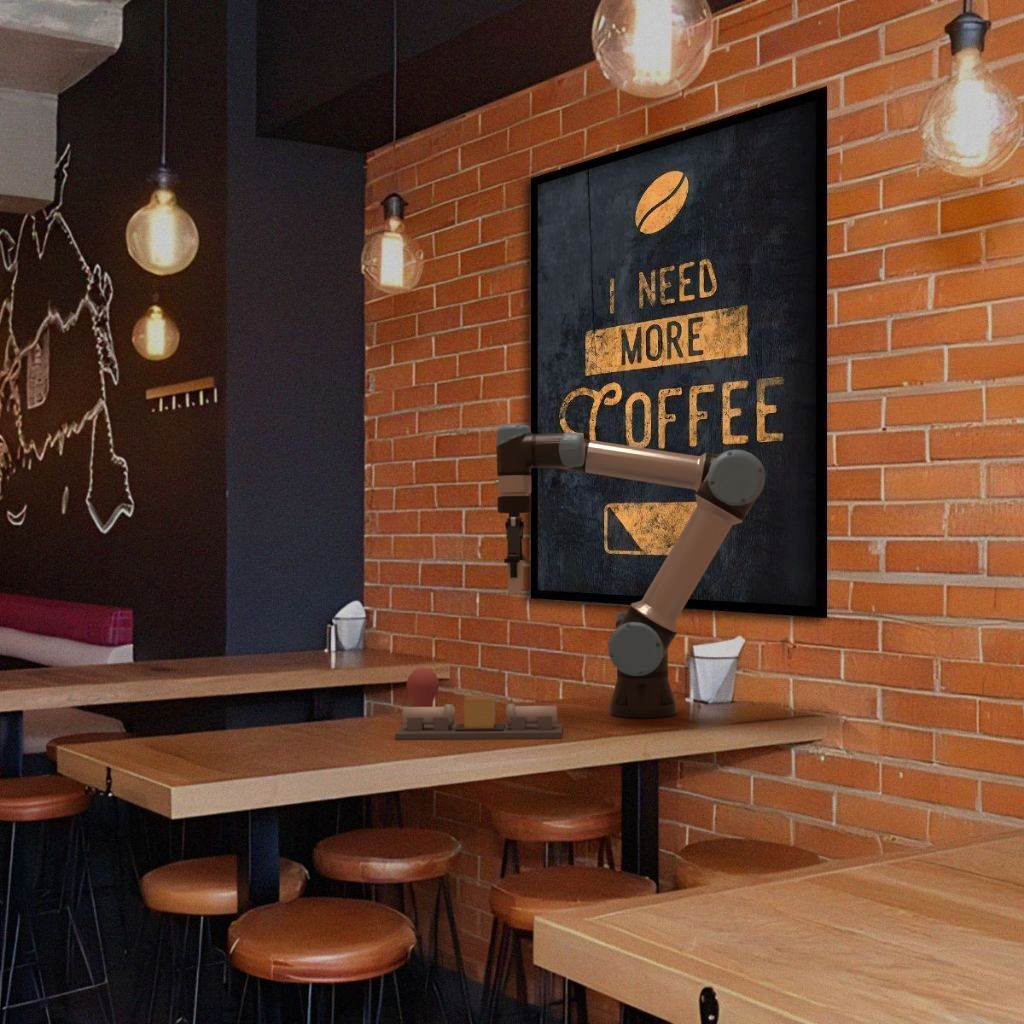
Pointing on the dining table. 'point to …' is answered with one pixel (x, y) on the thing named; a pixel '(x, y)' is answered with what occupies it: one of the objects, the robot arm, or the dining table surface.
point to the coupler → (479, 712)
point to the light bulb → (422, 687)
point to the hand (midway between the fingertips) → (515, 591)
